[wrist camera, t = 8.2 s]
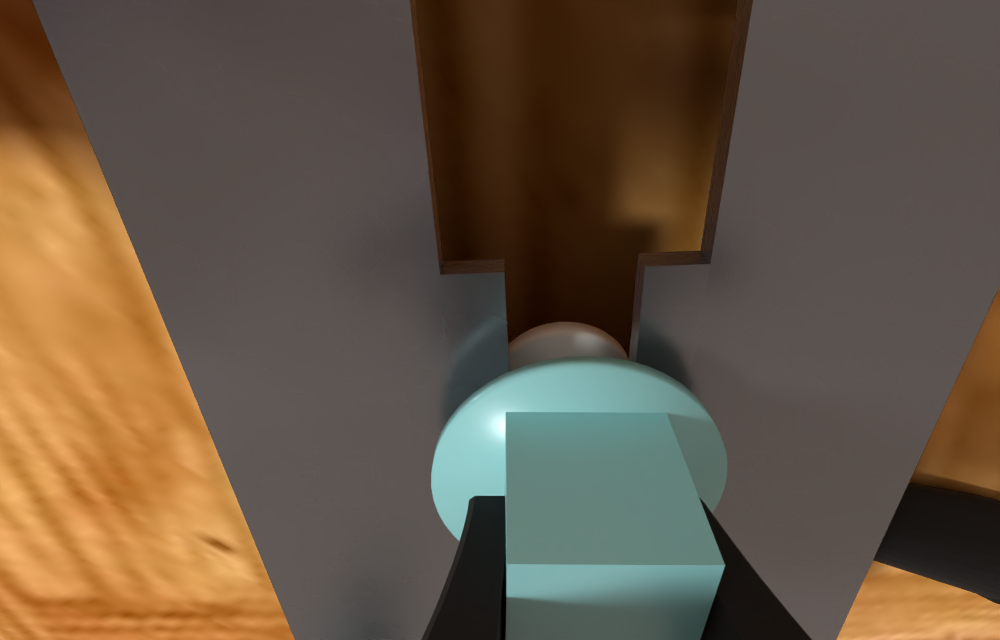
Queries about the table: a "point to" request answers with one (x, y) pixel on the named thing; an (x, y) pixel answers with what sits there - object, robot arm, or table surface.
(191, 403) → the table surface
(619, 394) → the peg
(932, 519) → the electric trimmer
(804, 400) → the keyhole plate
